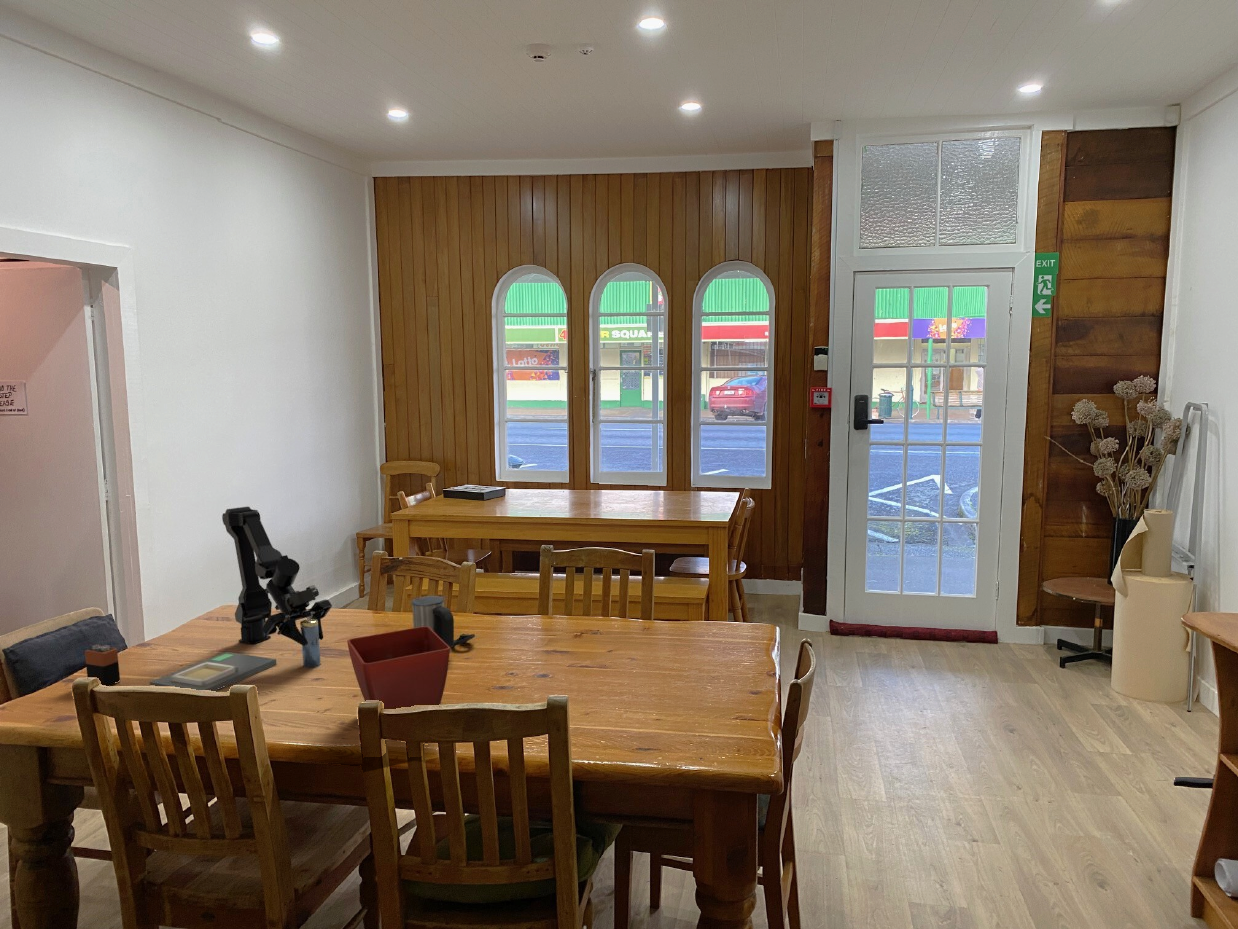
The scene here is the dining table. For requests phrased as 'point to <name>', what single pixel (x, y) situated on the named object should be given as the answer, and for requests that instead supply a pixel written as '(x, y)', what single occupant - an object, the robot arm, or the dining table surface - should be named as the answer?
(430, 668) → the plant pot
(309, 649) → the cell
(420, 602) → the milk frother
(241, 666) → the tester board
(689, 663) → the dining table surface
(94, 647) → the battery
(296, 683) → the dining table surface
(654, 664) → the dining table surface
